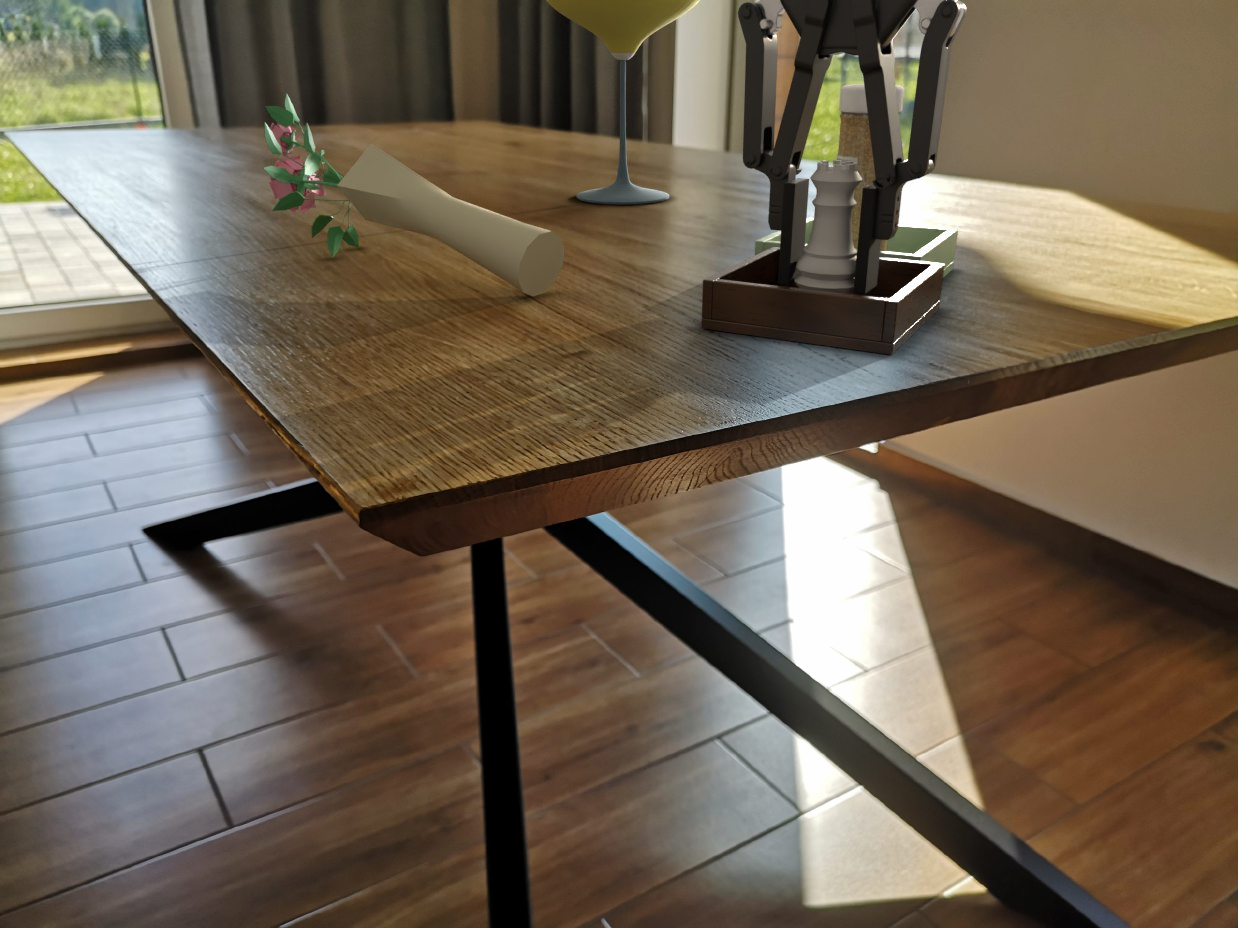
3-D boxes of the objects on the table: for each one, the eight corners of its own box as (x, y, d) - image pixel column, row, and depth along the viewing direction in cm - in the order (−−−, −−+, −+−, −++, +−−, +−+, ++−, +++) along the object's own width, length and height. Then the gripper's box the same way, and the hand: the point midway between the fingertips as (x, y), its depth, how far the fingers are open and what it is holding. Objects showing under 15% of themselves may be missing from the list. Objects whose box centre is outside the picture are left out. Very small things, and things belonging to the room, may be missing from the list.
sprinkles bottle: (888, 274, 78) (907, 86, 73) (827, 272, 79) (842, 85, 74) (883, 262, 82) (901, 83, 77) (825, 260, 83) (839, 82, 78)
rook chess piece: (866, 283, 69) (878, 160, 66) (855, 298, 65) (867, 168, 62) (800, 278, 71) (809, 157, 67) (786, 292, 67) (794, 165, 64)
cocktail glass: (536, 188, 126) (530, -38, 116) (680, 185, 129) (685, -36, 119) (555, 212, 110) (549, -49, 100) (718, 207, 113) (728, -47, 103)
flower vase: (494, 399, 76) (218, 241, 93) (601, 321, 83) (325, 186, 99) (475, 263, 68) (175, 116, 84) (596, 189, 75) (296, 66, 91)
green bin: (953, 269, 83) (958, 229, 82) (915, 301, 73) (921, 256, 72) (806, 254, 89) (809, 217, 87) (752, 283, 79) (755, 240, 77)
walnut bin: (939, 309, 71) (945, 263, 70) (892, 355, 61) (897, 302, 60) (770, 290, 76) (772, 246, 75) (701, 328, 66) (702, 279, 65)
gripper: (692, -118, 60) (682, 281, 69) (1007, -140, 52) (949, 313, 61) (742, -104, 66) (727, 261, 75) (1030, -122, 58) (974, 288, 67)
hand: (827, 284), depth 68 cm, fingers closed on rook chess piece, 4 cm apart
